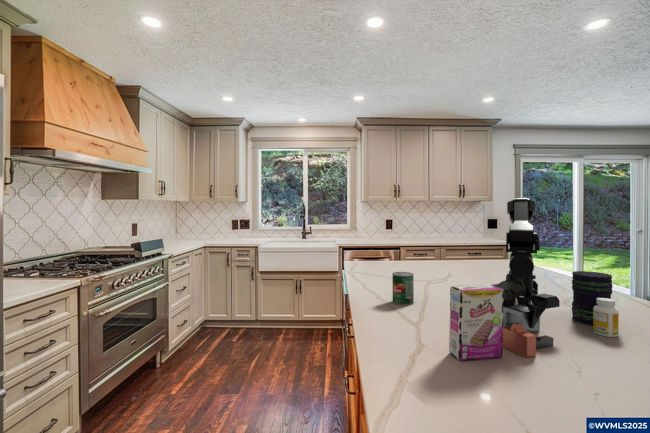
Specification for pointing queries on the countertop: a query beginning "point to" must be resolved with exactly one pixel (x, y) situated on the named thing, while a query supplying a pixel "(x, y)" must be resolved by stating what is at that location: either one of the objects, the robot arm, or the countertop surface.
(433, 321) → the countertop surface
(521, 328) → the coupler rail
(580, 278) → the storage jar
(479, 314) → the candy bar box
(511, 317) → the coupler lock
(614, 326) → the supplement bottle
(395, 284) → the canned tomato
